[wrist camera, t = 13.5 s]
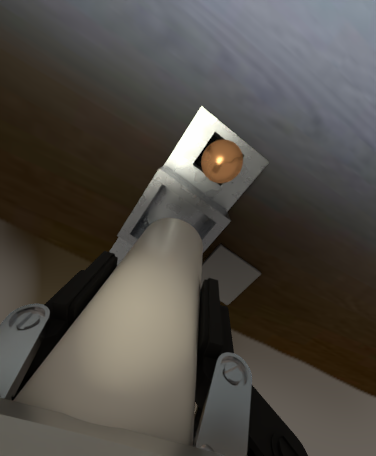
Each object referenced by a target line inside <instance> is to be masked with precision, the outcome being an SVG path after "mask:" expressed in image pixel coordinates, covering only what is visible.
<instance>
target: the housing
mask: <svg viewBox="0 0 376 456" xmlns="http://www.w3.org/2000/svg"><path fill="white" fill-rule="evenodd" d="M213 135H214V136H216V137H217V138H218V139H219V140H229V141H232V142H234V143H235V144H236V145H237V146H238V147H239V148H240V150H241V152H242V155H243V165H242V168H241V171H240V173H239V174H238V175H237V176H236V177H235V178H234V179H233V180H231V181H229V182H226V183H215V182H213V181H211V180H209V179H208V178H207V177H206V176H205V174H204V173H203V170H202V168H200V167H199V166H198V165H196V164H195V163H194V162H195V160H196V159H197V157H198V156H199V154H200V153H201V151H202V150H203V149H204V147H205V146H206V144H207V143H208V141H209V140H210V138H211V137H212V136H213ZM268 163H269V161H267V160H266V159H265V158H264V157H263V156H261V155H260V154H259V153H258V152H257V151H255V150H254V149H253V148H252V147H250V146H249V145H248V144H247V143H246V142H244V141H243V140H242V139H241V138H240V137H238V136H237V135H236V134H235V133H234V132H232V131H231V130H230V129H229V128H228V127H226V126H225V125H224V124H223V123H222V122H220V121H219V120H218V119H217V118H216V117H214V116H213V115H212V114H211V113H209V112H208V111H207V110H206V109H205V108H203V107H202V106H201V108H200V109H199V111H198V112H197V114H196V116H195V117H194V119H193V120H192V122H191V123H190V125H189V127H188V128H187V130H186V131H185V133H184V135H183V136H182V138H181V139H180V141H179V142H178V144H177V146H176V147H175V149H174V150H173V152H172V154H171V155H170V157H169V158H168V160H167V161H166V163H165V165H164V166H163V167H162V168H159V170H158V171H157V173H156V174H155V176H154V178H153V179H152V181H151V182H150V184H149V186H148V187H147V189H146V190H145V192H144V194H143V195H142V197H141V198H140V200H139V202H138V203H137V205H136V206H135V208H134V210H133V211H132V213H131V214H130V216H129V218H128V219H127V221H126V222H125V224H124V226H123V227H122V229H121V230H120V232H119V234H118V235H117V236H118V239H117V241H116V242H115V244H114V245H113V247H112V249H111V250H110V253H114V254H115V257H118V261H117V266H118V265H119V263H120V262H121V261H122V259H123V258H124V257H125V256H126V254H127V253H128V252H129V250H130V249H131V248H132V247H133V245H134V244H135V243H136V241H137V240H138V239H139V238H140V236H141V235H142V234H143V232H144V231H145V230H146V229H147V227H148V226H149V225H150V224H152V223H153V222H155V221H157V220H160V219H164V218H176V219H180V220H183V221H185V222H187V223H188V224H190V225H191V226H192V227H194V228H195V230H196V231H197V232H198V233H199V235H200V237H201V240H202V244H203V253H204V251H205V250H206V249H207V248H208V247H209V246H210V244H211V243H212V242H213V241H214V240H215V239H216V238H217V236H218V235H219V234H220V233H221V232H222V231H223V230H224V228H225V227H226V226H227V225H228V224H229V223H230V221H231V220H230V217H229V215H228V212H227V211H228V210H229V209H230V208H231V207H232V205H233V204H234V203H235V202H236V201H237V200H238V198H239V197H240V196H241V195H242V194H243V192H244V191H245V190H246V189H247V188H248V187H249V185H250V184H251V183H252V182H253V181H254V179H255V178H256V177H257V176H258V175H259V173H260V172H261V171H262V170H263V169H264V168H265V166H266V165H267V164H268ZM203 253H202V254H203Z"/></svg>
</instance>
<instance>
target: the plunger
mask: <svg viewBox="0 0 376 456" xmlns="http://www.w3.org/2000/svg"><path fill="white" fill-rule="evenodd" d="M242 165H243V155H242V152H241V150H240V148H239V147H238V146H237V145H236V144H235V143H234V142H232V141H229V140H217V141H215V142H213V143H211V144H210V145H209V146H208V147H207V148H206V149H205V151H204V152H203V155H202V159H201V166H202V170H203V173H204V174H205V176H206V177H207V178H208V179H209V180H211V181H213V182H215V183H226V182H229V181H231V180H233V179H234V178H235V177H236V176H237V175H238V174H239V173H240V171H241V168H242Z"/></svg>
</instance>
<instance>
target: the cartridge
mask: <svg viewBox="0 0 376 456" xmlns="http://www.w3.org/2000/svg"><path fill="white" fill-rule="evenodd" d="M202 253H203V244H202V240H201V237H200V235H199V233H198V232H197V231H196V230H195V228H194V227H192V226H191V225H190V224H188V223H187V222H185V221H183V220H180V219H176V218H164V219H160V220H157V221H155V222H153V223H152V224H150V225H149V226H148V227H147V229H146V230H145V231H144V232H143V234H142V235H141V236H140V238H139V239H138V240H137V241H136V243H135V244H134V245H133V247H132V248H131V249H130V250H129V252H128V253H127V254H126V256H125V257H124V258H123V259H122V261H121V262H120V263H119V265H118V266H117V267H116V269H115V270H114V271H113V272H112V274H111V275H110V276H109V278H108V279H107V280H106V281H105V283H104V284H103V285H102V287H101V288H100V289H99V290H98V292H97V293H96V294H95V296H94V297H93V298H92V299H91V301H90V302H89V303H88V305H87V306H86V307H85V308H84V310H83V311H82V312H81V314H80V315H79V316H78V318H77V319H76V320H75V321H74V323H73V324H72V325H71V327H70V328H69V329H68V330H67V332H66V333H65V334H64V336H63V337H62V338H61V339H60V341H59V342H58V343H57V345H56V346H55V347H54V348H53V350H52V351H51V352H50V354H49V355H48V356H47V358H46V359H45V360H44V361H43V363H42V364H41V365H40V367H39V368H38V369H37V370H36V372H35V373H34V374H33V376H32V377H31V378H30V379H29V381H28V382H27V383H26V385H25V386H24V387H23V388H22V390H21V391H20V392H19V394H18V395H17V396H16V398H15V399H14V400H13V401H16V402H20V403H24V404H28V405H32V406H36V407H40V408H44V409H48V410H52V411H56V412H60V413H64V414H66V415H69V416H71V417H74V418H76V419H79V420H83V421H86V422H89V423H93V424H98V425H103V426H108V427H116V428H123V429H127V430H131V431H135V432H139V433H143V434H146V435H150V436H154V437H158V438H162V439H166V440H169V441H173V442H177V443H181V444H185V445H189V446H192V447H193V430H194V409H195V390H196V371H197V351H198V332H199V312H200V292H201V273H202Z"/></svg>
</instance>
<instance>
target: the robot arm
mask: <svg viewBox="0 0 376 456" xmlns="http://www.w3.org/2000/svg"><path fill="white" fill-rule="evenodd" d="M117 261H118V257H115V254H114V253H110V252H106V251H104V252H103V253H102V254H101V255H100V256H99V257H98V258H97V259H96V260H95V261H94V262H93V263H92V264H91V265H90V266H89V267H88V268H87V269H86V270H81V271H80V272H78V273H77V274H76V275H75V276H74V277H73V278H72V279H71V280H70V281H69V282H68V283H67V284H66V285H65V286H64V287H62V288H61V289H60V290H59V291H58V292H57V293H56V294H55V295H54V296H53V297H52V298H51V299H50V300H49V301H48V302H47V303H46V304H45V305H42V304H30V305H26V306H23V307H20V308H18V309H16V310H14V311H13V312H12V313H10V314H9V315H8V316H7V317H6V319H5V320H4V321H3V322H2V324H1V325H0V456H308V455H307V453H306V451H305V449H304V447H303V445H302V444H301V442H300V441H299V440H298V438H297V437H296V436H295V435H294V433H293V432H292V431H291V430H290V429H289V428H288V426H287V425H286V424H285V423H284V422H283V421H282V420H281V418H280V417H279V416H278V415H277V414H276V412H275V411H274V410H273V409H272V408H271V407H270V405H269V404H268V403H267V402H266V401H265V400H264V399H263V397H262V396H261V395H260V394H259V393H258V392H257V390H256V389H255V388H254V387H253V386H252V377H251V376H252V375H251V371H250V369H249V367H248V365H247V364H246V362H245V361H244V360H243V359H242V358H241V357H239V356H238V355H237V354H234V351H233V343H232V335H231V327H230V319H229V311H228V308H227V307H226V306H222V305H220V296H219V283H218V280H216V279H212V278H208V280H206V279H204V281H203V284H202V288H201V292H200V312H199V332H198V351H197V371H196V390H195V402H196V404H197V407H196V411H195V414H194V430H193V447H192V446H189V445H185V444H181V443H177V442H173V441H169V440H166V439H162V438H158V437H154V436H150V435H146V434H143V433H139V432H135V431H131V430H127V429H123V428H116V427H108V426H103V425H98V424H93V423H89V422H86V421H83V420H79V419H76V418H74V417H71V416H69V415H66V414H64V413H60V412H56V411H52V410H48V409H44V408H40V407H36V406H32V405H28V404H24V403H20V402H16V401H13V400H14V399H15V398H16V396H17V395H18V394H19V392H20V391H21V390H22V388H23V387H24V386H25V385H26V383H27V382H28V381H29V379H30V378H31V377H32V376H33V374H34V373H35V372H36V370H37V369H38V368H39V367H40V365H41V364H42V363H43V361H44V360H45V359H46V358H47V356H48V355H49V354H50V352H51V351H52V350H53V348H54V347H55V346H56V345H57V343H58V342H59V341H60V339H61V338H62V337H63V336H64V334H65V333H66V332H67V330H68V329H69V328H70V327H71V325H72V324H73V323H74V321H75V320H76V319H77V318H78V316H79V315H80V314H81V312H82V311H83V310H84V308H85V307H86V306H87V305H88V303H89V302H90V301H91V299H92V298H93V297H94V296H95V294H96V293H97V292H98V290H99V289H100V288H101V287H102V285H103V284H104V283H105V281H106V280H107V279H108V278H109V276H110V275H111V274H112V272H113V271H114V270H115V269H116V267H117Z"/></svg>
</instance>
